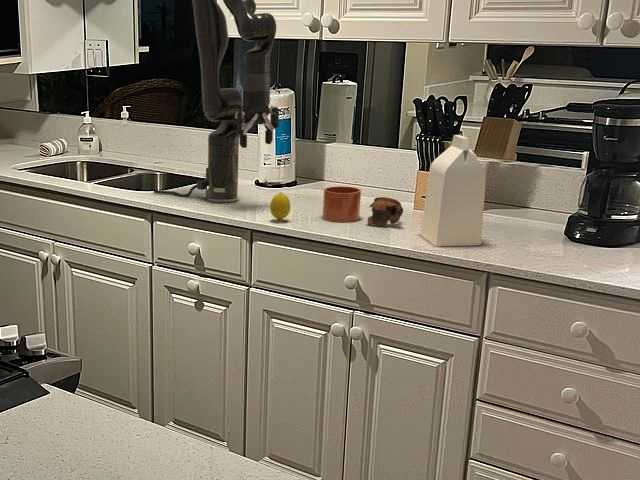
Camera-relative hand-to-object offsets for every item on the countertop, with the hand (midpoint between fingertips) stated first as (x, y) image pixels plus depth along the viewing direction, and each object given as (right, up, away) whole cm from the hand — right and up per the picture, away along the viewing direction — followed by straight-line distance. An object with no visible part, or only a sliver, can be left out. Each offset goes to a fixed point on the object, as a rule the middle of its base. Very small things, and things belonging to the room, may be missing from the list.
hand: (256, 145), depth 272 cm
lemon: (+6, -24, -11) cm, 27 cm away
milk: (+46, -32, -32) cm, 65 cm away
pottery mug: (+34, -25, -15) cm, 45 cm away
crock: (+23, -22, -8) cm, 33 cm away
